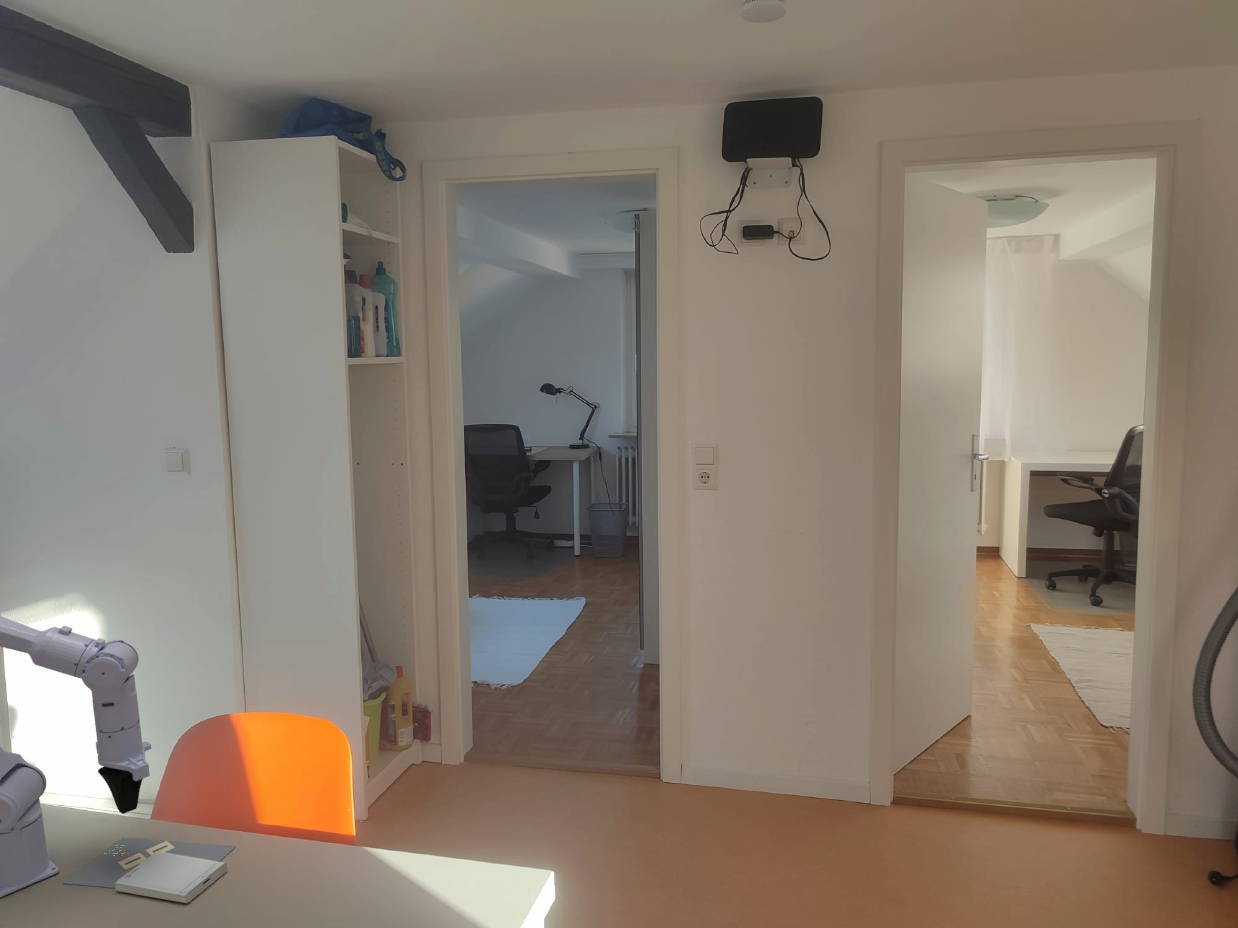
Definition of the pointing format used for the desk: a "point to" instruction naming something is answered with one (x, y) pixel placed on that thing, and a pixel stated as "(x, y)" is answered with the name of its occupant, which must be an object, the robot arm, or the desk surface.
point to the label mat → (139, 859)
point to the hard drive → (171, 877)
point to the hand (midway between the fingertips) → (128, 809)
